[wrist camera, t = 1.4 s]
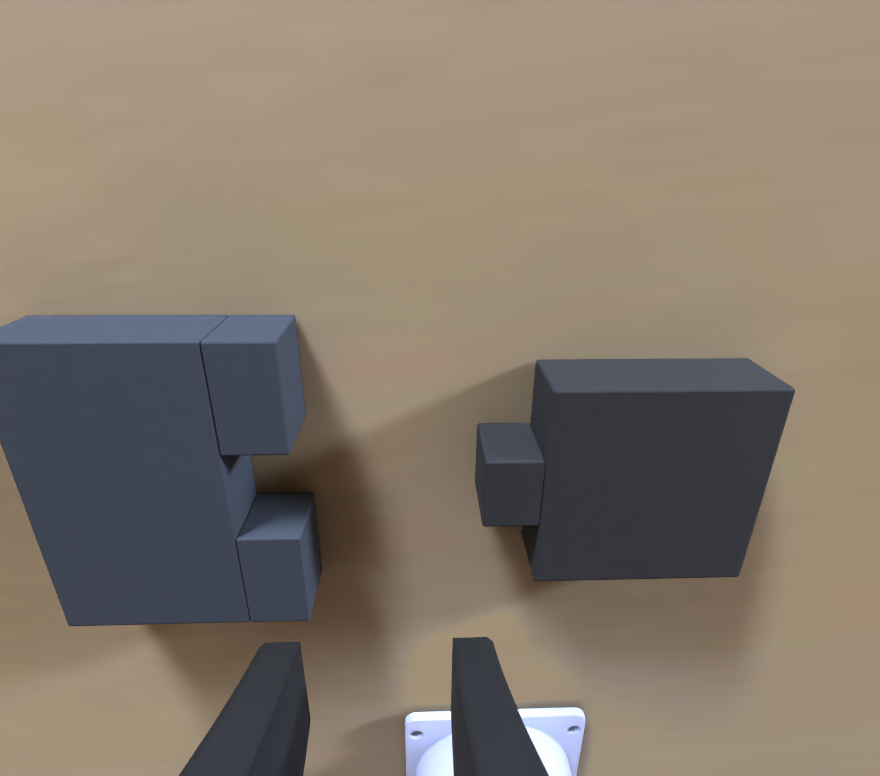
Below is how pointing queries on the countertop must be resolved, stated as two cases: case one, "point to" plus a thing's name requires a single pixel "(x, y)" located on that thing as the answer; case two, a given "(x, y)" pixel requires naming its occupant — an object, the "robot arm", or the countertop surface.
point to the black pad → (635, 466)
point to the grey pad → (160, 465)
